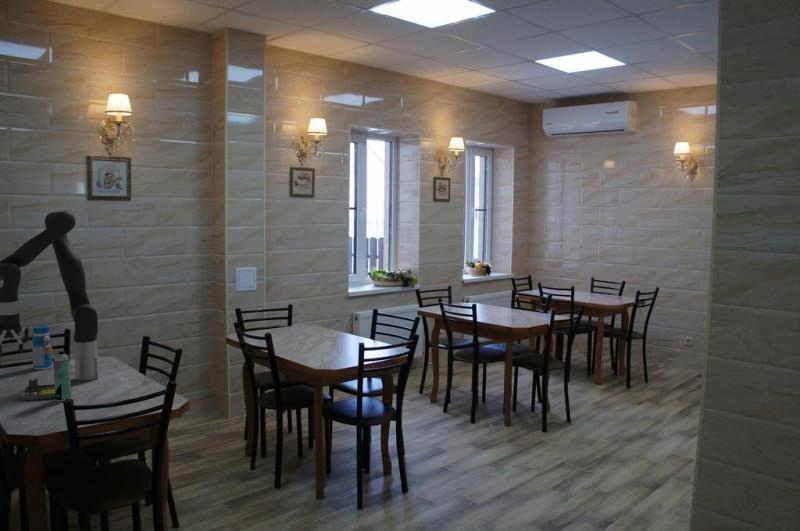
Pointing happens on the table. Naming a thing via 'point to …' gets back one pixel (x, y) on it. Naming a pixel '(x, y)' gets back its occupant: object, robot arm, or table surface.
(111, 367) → the table surface
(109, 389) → the table surface
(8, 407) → the table surface
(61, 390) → the spray can
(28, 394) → the panel
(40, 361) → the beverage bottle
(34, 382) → the toggle
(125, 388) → the table surface
